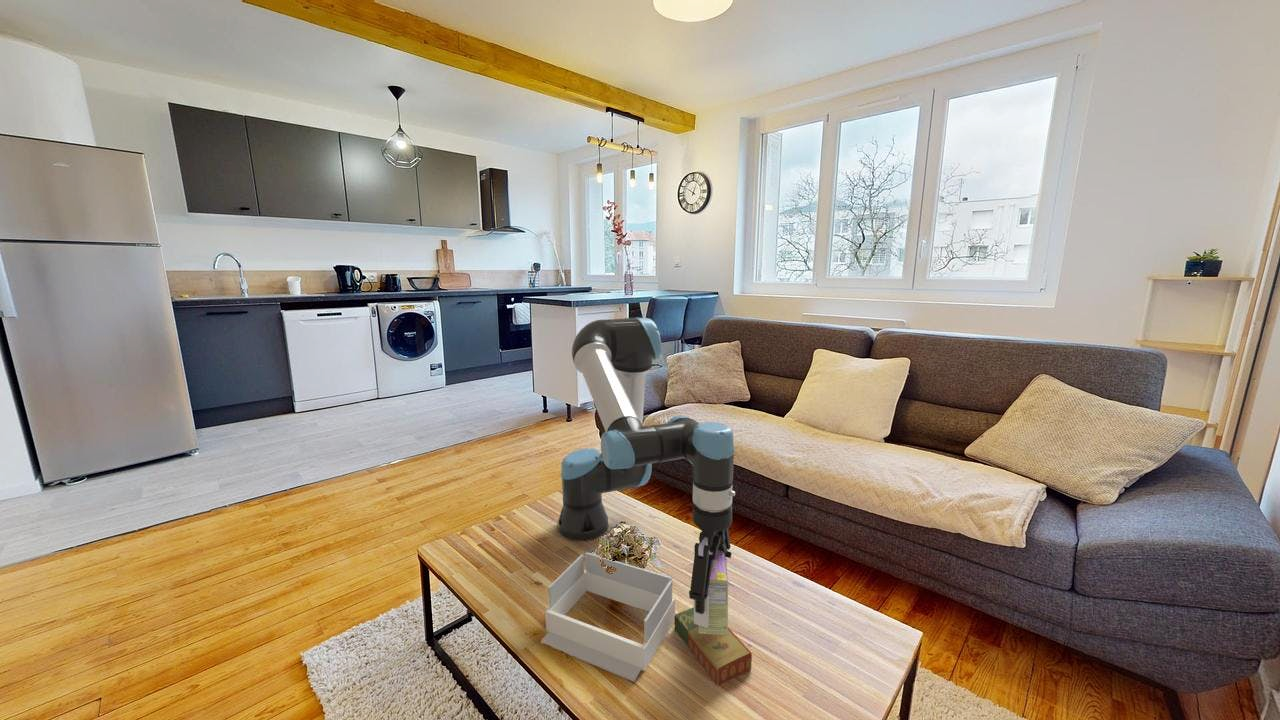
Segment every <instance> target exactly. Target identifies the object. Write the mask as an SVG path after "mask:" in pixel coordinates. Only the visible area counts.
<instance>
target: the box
mask: <svg viewBox="0 0 1280 720" xmlns="http://www.w3.org/2000/svg"><path fill="white" fill-rule="evenodd" d="M709 554H710V555H712V554H713V553H711V552H710V553H709ZM707 594H709V626H708V628H706V627H703V626H700V625H698V633H699V634H710V635H728V628H729V626H728V625H729V577H728V568H727V569H726V562H725V555H724V551H721V550H718V551H717V557H716V559H715V560H713V565H712V570H711V576H710V582H709V588H708V593H707Z"/></svg>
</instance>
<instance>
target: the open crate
mask: <svg viewBox="0 0 1280 720" xmlns="http://www.w3.org/2000/svg"><path fill="white" fill-rule="evenodd" d="M600 556H601V555H597V554H594V553H591V552H588V551H587V552H585V556H584V554H582V553H581V554H580V555H579V556H578V557H577V558H576V559H575V560H574V561H573V562H572V563H571V564H570V565H569V566H568V567H567V568H566V569H565V570H564V571H563V572H562V573H561V574H560V575H559V576H558V577H557V578H556V579H555V580H553V582H552V583H550V585H549V586H548V587H547V590H548V592H547V593H548V606H549V607H548V608H546V610H545V611H544V613H545V614H544V616H545V632H546V631H548V632H546V634H545V636H544V637H542V639H541V640H542V642H543V643H545V644H547V645H549V646H552V647H554V648H556V649H558V650H557V651H559V650H561V651H563V652H564V653H563V652H562V653H563V654H566V653H567V654H566V655H568V654H569V655H568V656H571V657H573V656H574V657H573V658H575V657H576V658H575V659H578V660H580V661H582V662H585V663H588V664H590V665H593V666H595V667H596V668H597V667H598V669H599V668H600V669H602V670H605V671H606V672H609V673H612V674H614V675H616V676H619V677H622V678H623V679H626V680H629V681H631V682H633V683H635V682H636V679H637V678H638V677H639V674H640V672H641V671H643V672H646V670H647V668H648V667H649V665H650V664H651V661H652V660H653V658H654V656H655V654H656V652H657V651H658V650H659V647H660V646H661V645H662V644H661V643H662V642H663V640H664V638H665V636H666V634H668V631H669V630H670V627H671V626H672V625H673V622H674V617H675V614H676V598H675V597H673V581H672V576H669V575H665V574H662V573H658V572H655V571H652V570H648V569H645V568H642V567H638V566H634V565H632V564H628V563H625V562H622V561H617V560H615V561H612V560H613V559H611V560H609V559H610V558H608V559H606V558H607V557H605V558H602V557H603V556H601V557H600ZM584 557H585V559H584ZM600 558H601V559H600ZM584 560H585V561H584ZM600 560H601V562H600ZM602 560H604V565H605V564H606V565H607V566H609V567H611V566H612V567H615V568H616V569H617V570H616V571H615V572H614V573H613V574H609V573H607V572H606V567H605V568H603V566H602V567H601V563H602ZM584 562H585V563H584ZM586 592H589V593H593V594H595V595H598V596H601V597H604V598H607V599H609V600H610V599H611V600H613V601H616V602H619V603H621V604H625V605H628V606H630V607H634V608H637V609H638V610H642V611H646V612H648V614H647V616H646V617H645V618H644V620H643V626H644V627H643V629H644V630H643V631H644V633H643V635H644V642H643V644H642V643H639V642H636V641H634V640H632V639H628V638H625V637H623V636H620V635H618V634H615V633H613V632H610V631H607V630H604V629H602V628H599V627H597V626H594V625H591V624H588V623H586V622H583V621H580V620H579V619H575V618H572V617H571V616H568V615H567V614H568V613H569V612H570V610H571V609H572V608H573V607H574V606H575V605H576V603H577V602H578V601H579V600H580V599H581V598H582V597H583V595H585V593H586ZM544 640H545V641H544ZM547 645H546V646H547ZM549 646H548V647H549ZM552 647H551V648H552ZM554 648H553V649H554ZM556 649H555V650H556ZM561 651H560V652H561Z"/></svg>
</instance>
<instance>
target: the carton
mask: <svg viewBox="0 0 1280 720" xmlns="http://www.w3.org/2000/svg"><path fill="white" fill-rule="evenodd" d="M673 622H674V631H675V632H676V633H677V635H678V636H679V637H680V638H681V640H682V641H683V642H684V644H685V645H686V646H687V648H688V649H689V651H690V652H691V653H692V654H693V656H694V657H695V659H696V660H697V661H698V663H699V664H700V665H701V667H702V668H703V669H704V670H705V672H706V673H707V675H708V676H709V677H710V679H711V680H712V681H713V682H714V683H715V685H716V687H717V686H720V685H722V684H724V683H726V682H729V681H730V680H732V679H734V678H736V677H739V676H741V675H743V674H745V673H747V672H750V671H751V669H752V662H753V661H752V659H753V658H752V652H751V650H749V648H748V647H747V646H746V645H745V644H744V643H743V642H742V641H741V639H739V637H738V636H737V635H736V634H735V633H734V632H733V631H732V630H731V628H729V627H728V635H710V634H699V633H698V625H697V624H694V606H693V607H691V608H688V609H686V610H683V611H681V612H677V613H675V617H674V621H673Z"/></svg>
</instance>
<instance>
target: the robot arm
mask: <svg viewBox="0 0 1280 720" xmlns="http://www.w3.org/2000/svg"><path fill="white" fill-rule="evenodd" d="M662 347H663V346H662V339H661V335H660V332H659V328H658V327H657V324H656V323H655V322H654V320H653V319H651V318H648V317H628V318H627V317H626V318H610V319H596V320H593V321H591V322H589V323H588V324H585V326H584V327H582V328H581V329H580V331H578V333H577V335H576V336H575V338H574V340H573V343H572V347H571V357H572V361H573V364H574V367H575V368H576V370H577V371H578V372H579V373H581V374H582V376H583V378H584V382H586V386H587V389H588V390H589V393H590V396H591V398H592V401H593V402H594V403H593V404H594V407H595V408H596V411H597V413H598V416H599V418H600V421H601V423H602V426H603V429H604V431H605V432H603V433H602V435H601V438H600V451H599V450H598V449H596V448H588V447H587V448H582V449H581V448H580V449H577V450H575V451H572V452H570V453H568V454H567V455H566V456H565V457H564V458H563V459H562V461H561V466H560V467H561V468H560V469H561V470H560V471H561V472H560V477H561V488H562V489H561V492H562V507H561V511H560V514H559V517H558V520H557V525H558V527H557V528H558V532H559V534H560V535H561V537H563V538H565V539H567V538H568V540H572V541H587V540H594V539H596V538H598V537H601V536H602V535H603V534H605V533H606V532H607V530H608V528H609V516H608V515H607V512H606V509H605V506H604V503H603V499H602V498H603V494H605V493H610V492H616V491H623V490H628V489H635V488H638V487H641V486H645V485H646V484H647V483H648V482H649V480H650V478H651V475H652V467H653V466H652V464H656V463H664V462H670V461H675V460H682V459H684V460H685V461H686V462H688V463H689V464H691V465H692V502H693V503H692V522H693V524H694V525H695V526H696V527H697V528H699V529H700V532H699V535H698V541H699V542H695V543H694V550H693V551H694V559H693V565H692V566H693V567H692V571H691V572H692V573H691V582H690V590H688V595H689V599H691V600H693V607H694V624H697V625H700V626H703V627H706V628H708V626H709V594H707V593H708V588H709V582H710V576H711V570H712V565H713V560H715V559H716V557H717V551H718V550H721V551H724V555H725V562H726V569H727V570H728V559H731V557H732V552H731V551H729V550H730V548H731V541H730V540H731V539H730V532H729V530H730V529H729V528H730V527H731V525H732V523H733V505H732V504H733V497H735V496H736V491H734V490H733V486H734V485H733V481H734V460H735V459H734V457H735V444H734V431H733V429H732V428H731V426H729V425H727V424H726V423H721V422H718V421H704V422H701V423H699V421H697V420H695V419H693V418H690V417H688V416H687V415H686V416H685V415H675V416H674V417H672V418H670V419H668V421H667V422H666V423H661V424H654V425H645V426H643V420H644V408H645V395H646V394H645V391H646V377H647V373H648V372H649V371H650V370H652V368H653V360H654V361H655V360H657V359H659V358H660V356H661V354H662ZM710 552H711V553H713V554H712V555H710V554H709V553H710Z"/></svg>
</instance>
